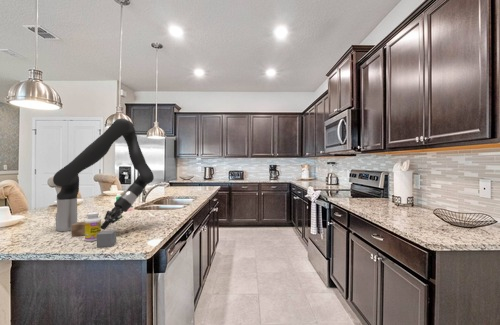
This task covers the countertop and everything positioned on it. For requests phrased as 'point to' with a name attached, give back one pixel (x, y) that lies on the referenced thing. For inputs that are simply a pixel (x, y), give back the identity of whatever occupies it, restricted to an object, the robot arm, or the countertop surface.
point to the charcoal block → (106, 238)
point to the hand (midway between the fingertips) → (102, 228)
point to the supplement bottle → (92, 226)
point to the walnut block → (78, 229)
